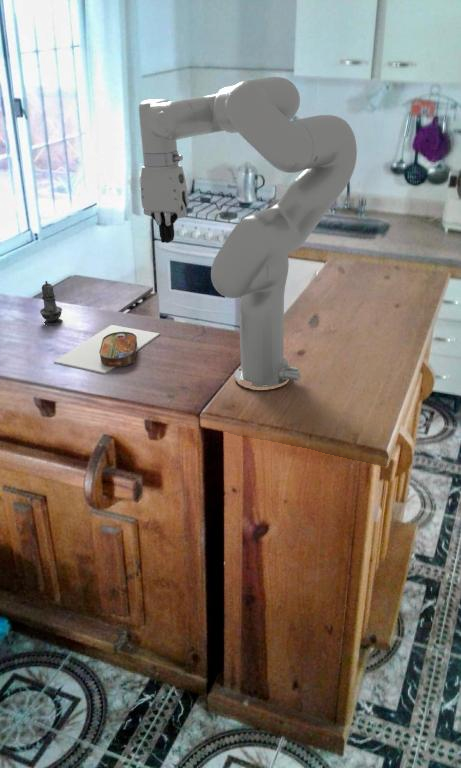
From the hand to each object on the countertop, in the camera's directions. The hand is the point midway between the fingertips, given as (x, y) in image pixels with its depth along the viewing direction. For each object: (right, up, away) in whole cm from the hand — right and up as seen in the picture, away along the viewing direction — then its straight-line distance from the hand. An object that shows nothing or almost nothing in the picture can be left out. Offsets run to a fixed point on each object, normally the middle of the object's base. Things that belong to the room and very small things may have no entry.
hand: (167, 241), depth 165 cm
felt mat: (-16, -24, +12) cm, 31 cm away
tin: (-8, -25, +7) cm, 27 cm away
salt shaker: (-34, -17, +28) cm, 47 cm away
